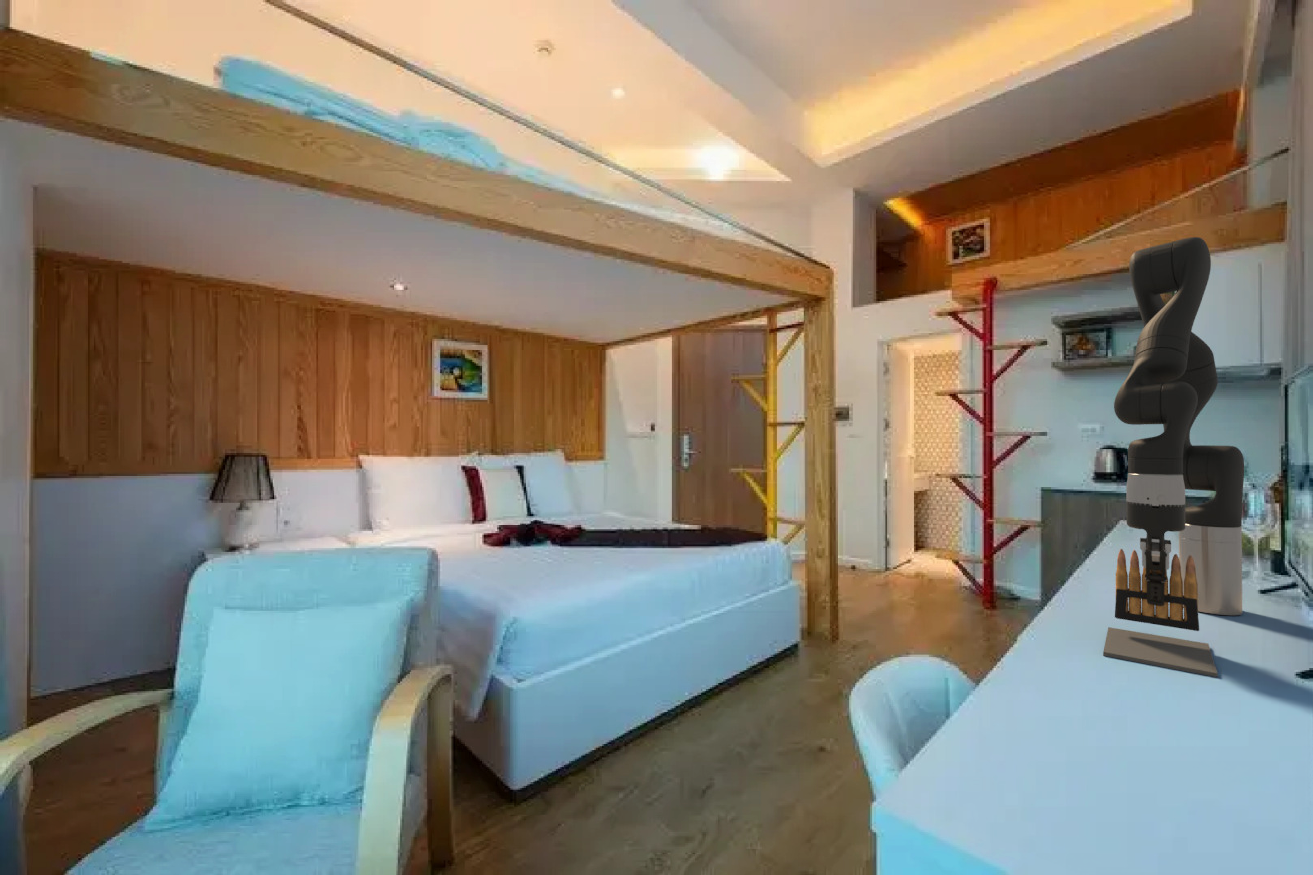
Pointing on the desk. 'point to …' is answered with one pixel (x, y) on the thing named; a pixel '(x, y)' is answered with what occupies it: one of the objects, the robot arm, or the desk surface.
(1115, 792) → the desk surface
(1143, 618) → the ammunition clip
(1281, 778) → the desk surface
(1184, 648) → the mat
